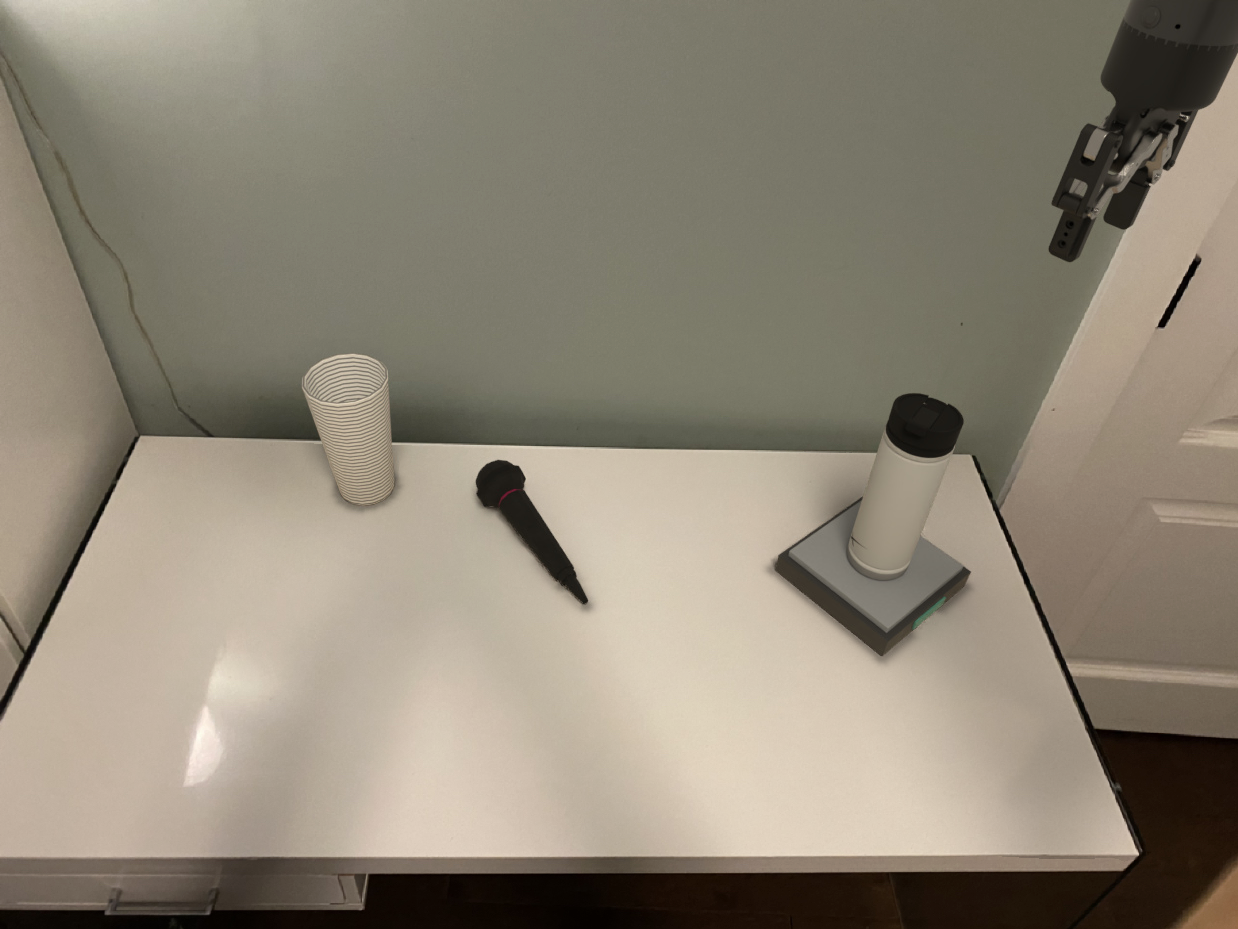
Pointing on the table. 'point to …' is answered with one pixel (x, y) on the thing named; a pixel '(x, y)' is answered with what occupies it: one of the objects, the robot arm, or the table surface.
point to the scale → (870, 583)
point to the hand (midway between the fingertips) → (1089, 240)
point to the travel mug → (903, 484)
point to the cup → (353, 423)
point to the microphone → (526, 519)
